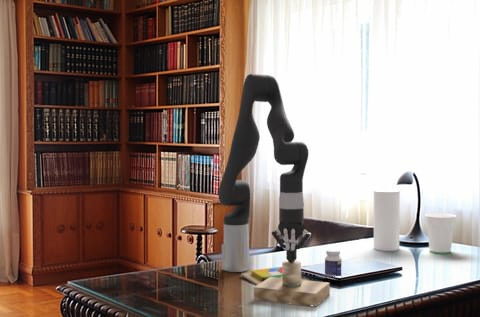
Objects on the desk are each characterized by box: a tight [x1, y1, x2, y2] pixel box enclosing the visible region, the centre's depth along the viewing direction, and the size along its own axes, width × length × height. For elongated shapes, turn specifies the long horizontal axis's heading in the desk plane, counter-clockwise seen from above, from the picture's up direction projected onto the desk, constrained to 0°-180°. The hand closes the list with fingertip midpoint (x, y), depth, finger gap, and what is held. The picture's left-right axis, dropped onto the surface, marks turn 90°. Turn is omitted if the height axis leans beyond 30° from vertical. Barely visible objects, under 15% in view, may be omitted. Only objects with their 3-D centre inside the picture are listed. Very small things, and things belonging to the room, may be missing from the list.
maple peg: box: [281, 260, 302, 287], centre depth 201 cm, size 6×6×10 cm
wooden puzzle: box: [240, 266, 310, 286], centre depth 224 cm, size 17×19×4 cm
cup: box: [424, 212, 457, 255], centre depth 268 cm, size 12×12×15 cm
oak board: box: [253, 277, 331, 306], centre depth 201 cm, size 20×14×4 cm
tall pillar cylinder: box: [373, 188, 401, 252], centre depth 276 cm, size 11×11×25 cm
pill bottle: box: [324, 249, 342, 277], centre depth 225 cm, size 6×6×10 cm
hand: (291, 261), depth 201 cm, fingers closed
